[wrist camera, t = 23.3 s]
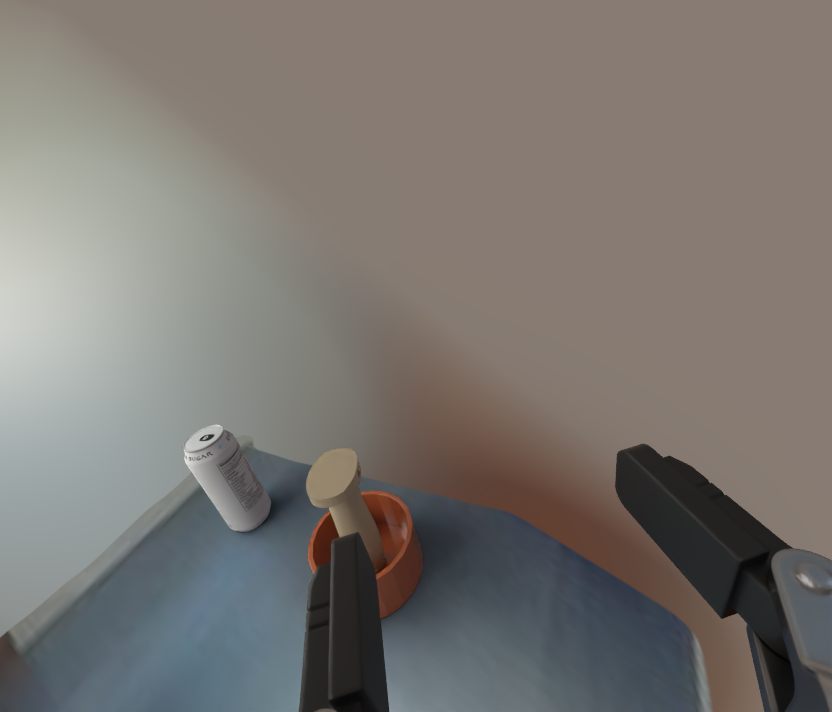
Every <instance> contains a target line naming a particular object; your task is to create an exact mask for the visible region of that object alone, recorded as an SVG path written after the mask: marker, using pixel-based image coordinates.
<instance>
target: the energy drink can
mask: <svg viewBox="0 0 832 712" xmlns="http://www.w3.org/2000/svg"><path fill="white" fill-rule="evenodd" d="M183 449H184V451H185V457H184V460H185V463H186V464H187V465H188V467H189V469H190V470H191V472H192V473H193V475H194V476H195V477H196V479H197V480H198V482H199V483H200V485H201V486H202V488H203V489H204V491H205V492H206V494H207V495H208V496H209V498H210V499H211V501H212V502H213V504H214V505H215V507H216V508H217V510H218V511H219V513H220V514H221V516H222V517H223V518H224V520H225V521H226V523H227V524H228V526H229V527H230V528H231V529H232V530H234V531H240V532H247V531H250V530H253V529H255V528H256V527H258V526H259V525H260V524H262V523H263V522H264V520H265V519H266V518H267V516H268V514H269V511H270V506H271V500H270V498H269V496H268V495H267V493H266V491H265V489H264V488H263V486H262V484H261V482H260V481H259V479H258V477H257V475H256V474H255V472H254V470H253V468H252V467H251V465H250V463H249V461H248V460H247V458H246V456H245V454H244V453H243V451H242V449H241V448H240V446H239V444H238V442H237V441H236V439H235V437H234V435H233V434H232V433H230V432H228V431H226V430H224V429H223V427H222V426H220V425H211V426H208V427H205V428H203V429H201V430H199V431H197V432H195V433H194V434H192V435H191V436H190V437H189V438H188V439H187V440H186V441H185V442H184V444H183Z"/></svg>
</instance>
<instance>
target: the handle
mask: <svg viewBox="0 0 832 712" xmlns="http://www.w3.org/2000/svg"><path fill="white" fill-rule="evenodd" d="M360 480H361V468H360V465H359V462H358V459H357V457H356V455H355V453H354V451H353V449H350V448H338V449H333V450H330V451H328V452H326V453H324V454H322V455H321V456H320V458H319V459H318V460H317V461H316V462H315V463H314V465H313V466H312V467H311V469H310V471H309V474H308V477H307V480H306V489H307V493H308V496H309V499H310V501H311V503H312V504H313V505H314V506H316V507H319V508H329V510H330V513H331V515H332V518H333V520H334V523H335V526H336V528H337V531H338V534H339V537H343V536H346V535H349V534H352V533H356V532H359V534H360V536H361V538H362V540H363V543H364V545H365V547H366V549H367V552H368V554H369V556H370V559H371V561H372V563H373V566H374V570H375V574H376V575H377V574H378V573H379V572H381V570H382V569H383V568H384V567H385V566H386V556H385V554H384V550H383V544H382V541H381V537H380V534H379V531H378V529H377V526H376V523H375V521H374V519H373V517H372V515H371V513H370V511H369V509H368V507H367V505H366V503H365V501H364V499H363V497H362V495H361V493H360V491H359V489H358V485H359V483H360Z"/></svg>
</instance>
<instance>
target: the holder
mask: <svg viewBox="0 0 832 712" xmlns="http://www.w3.org/2000/svg"><path fill="white" fill-rule="evenodd" d="M361 495H362V497H363V499H364V501H365V503H366V505H367V507H368V509H369V511H370V513H371V515H372V517H373V519H374V521H375V523H376V526H377V529H378V531H379V534H380V537H381V541H382V544H383V550H384V554H385V556H386V566H385V567H384V568H383V569H382V570H381V572H379V573H378V574H377V575H376V579H377V587H378V597H379V608H380V618H383V617H386V616H388V615H390V614H391V613H393V612H394V611H396V610H397V609H399V608H400V607H401V606H402V605H403V604H404V603H405V602H406V601H407V600H408V599H409V598H410V596H411V595H412V593H413V592H414V590H415V589H416V587H417V585H418V582H419V580H420V577H421V574H422V568H423V553H422V549H421V545H420V542H419V538H418V535H417V532H416V529H415V526H414V523H413V520H412V517H411V514H410V511H409V509H408V508H407V506H406V505H405V504H404V502H403V501H402V500H401V499H400V498H398V497H396V496H395V495H393V494H391V493H388V492H383V491H365V492H361ZM336 538H340V537H339V534H338V531H337V528H336V526H335V523H334V520H333V518H332V515H331V513H330V510H329V511H328V512H327V513H326V514H325V515H324V516H323V517H322V519H321V520H320V521H319V523H318V524H317V526H316V527H315V529H314V531H313V534H312V537H311V539H310V542H309V551H308V560H309V563H310V566H311V569H312V572H313V574H314V573H315V571H316V568H317V566H320V565H323V564H326V563H329V562H331V544H332V540H333V539H336Z"/></svg>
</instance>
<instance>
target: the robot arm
mask: <svg viewBox="0 0 832 712" xmlns="http://www.w3.org/2000/svg"><path fill="white" fill-rule="evenodd" d="M615 487H616V492H617V494H618V497H619V499H620V501H621V503H622V504H623V505H624V507H625V508H626V509H627V510H628V511H629V513H630V514H631V515H632V516H633V517H634V518H635V519H636V520H637V522H638V523H639V524H640V525H641V526H642V528H643V529H644V530H645V531H646V532H647V533H648V534H649V536H650V537H651V538H652V539H653V540H654V541H655V543H656V544H657V545H658V546H659V547H660V548H661V550H662V551H663V552H664V553H665V554H666V555H667V556H668V557H669V559H670V560H671V561H672V562H673V563H674V564H675V566H676V567H677V568H678V569H679V570H680V571H681V572H682V574H683V575H684V576H685V577H686V578H687V579H688V581H689V582H690V583H691V584H692V585H693V586H694V587H695V589H696V590H697V591H698V592H699V593H700V594H701V596H702V597H703V598H704V599H705V600H706V601H707V602H708V604H709V605H710V606H711V607H712V608H713V609H714V610H715V612H716V613H717V614H718V615H719V616H720V617H721V618H722V619H723V618H725V617H728V616H731V615H734V614H736V613H738V614H739V615H740V616H741V617H742V618H743V619H744V620H745V621H746V623H747V635H748V639H749V643H750V648H751V652H752V657H753V662H754V666H755V671H756V675H757V680H758V684H759V689H760V693H761V697H762V702H763V706H764V711H765V712H832V561H831V560H830V559H828V558H826V557H823V556H821V555H819V554H816V553H813V552H810V551H806V550H800V549H794V548H792V547H790V546H789V545H787V544H786V543H785V542H783V541H782V540H781V539H780V538H778V537H777V536H776V535H775V534H773V533H772V532H771V531H770V530H769V529H767V528H766V527H765V526H764V525H762V524H761V523H760V522H759V521H758V520H756V519H755V518H754V517H753V516H751V515H750V514H749V513H748V512H747V511H745V510H744V509H743V508H742V507H740V506H739V505H738V504H737V503H736V502H734V501H733V500H732V499H731V498H730V497H728V496H727V495H724V494H723V492H722V491H721V490H720V489H719V488H717V487H716V486H715V485H714V484H712V483H709V481H708V480H707V479H706V478H705V477H704V476H703V475H701V474H700V473H699V472H698V471H696V470H695V469H694V468H693V467H691V466H690V465H688V464H686V463H684V462H682V461H679V460H677V459H675V458H673V457H671V456H667V457H664V458H663V457H662V456H660V454H658V453H657V452H656V451H655V450H654V449H652V448H651V447H650V446H648V445H646V444H640V445H637V446H634V447H631V448H627V449H624V450H621V451H619V452H618V454H617V464H616V482H615ZM307 611H308V613H307V616H306V632H305V642H304V655H303V669H302V682H301V695H300V706H299V712H389V704H388V693H387V683H386V672H385V661H384V650H383V640H382V629H381V618H380V608H379V597H378V587H377V579H376V574H375V570H374V566H373V563H372V561H371V559H370V556H369V554H368V552H367V549H366V547H365V545H364V543H363V540H362V538H361V536H360V534H359V532H356V533H352V534H349V535H346V536H343V537H340V538H336V539H333V540H332V544H331V562H329V563H326V564H323V565H320V566H317V568H316V571H315V573H314V576H313V578H312V580H311V583H310V585H309V589H308V602H307Z"/></svg>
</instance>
